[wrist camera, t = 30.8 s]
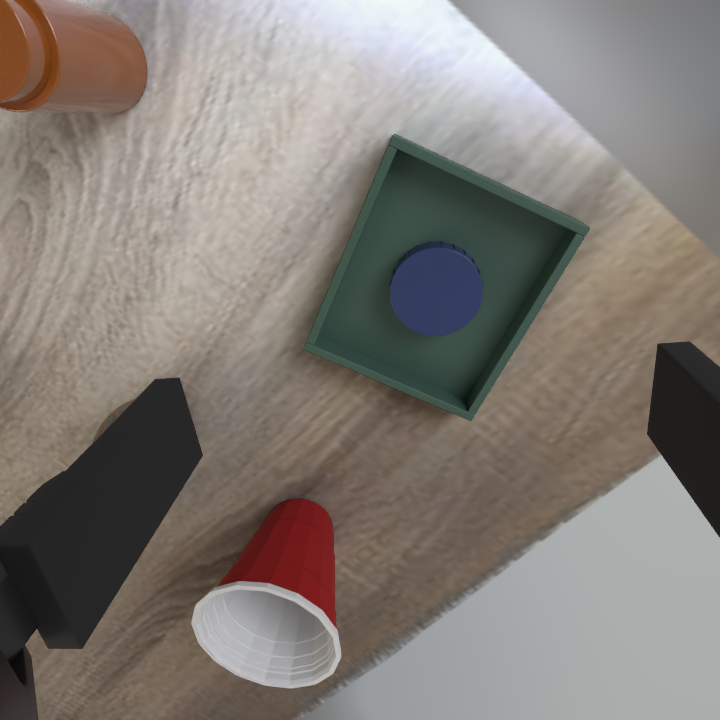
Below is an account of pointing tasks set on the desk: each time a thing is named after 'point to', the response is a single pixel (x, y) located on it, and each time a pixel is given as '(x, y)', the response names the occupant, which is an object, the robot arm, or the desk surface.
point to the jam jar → (67, 59)
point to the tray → (454, 226)
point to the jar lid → (436, 289)
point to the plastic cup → (277, 602)
